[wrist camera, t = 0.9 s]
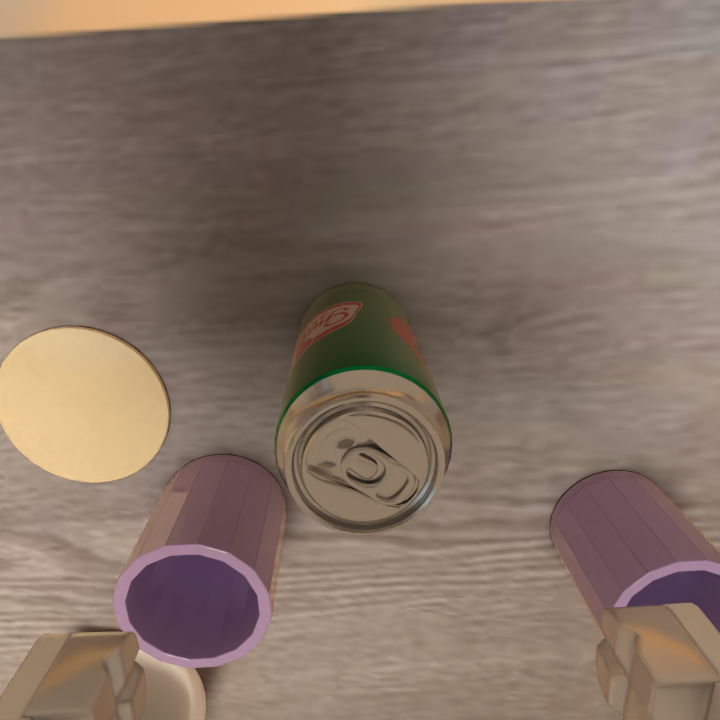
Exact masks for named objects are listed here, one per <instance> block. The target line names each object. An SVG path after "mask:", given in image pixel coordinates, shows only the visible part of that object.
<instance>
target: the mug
mask: <svg viewBox="0 0 720 720" xmlns="http://www.w3.org/2000/svg"><path fill="white" fill-rule="evenodd" d="M135 661H136V662H137V663H138V664H139V665H141V666H142V667H143V668H144V671H145V677H146V699H145V705H144V711H143V715H142V718H141V720H205V713H206V697H205V691H204V687H203V684H202V681H201V679H200V676H199V675H198V673H197V671H196V669H195V668H189V667H188V668H185V667H181V666H177V665H173V664H169V663H165V662H161V661H160V660H159V661H158V660H157V659H155V658H153V657H152V656H150V655H148V654H147V653H145V652H143V651H142V650H140V649H139V651H138V654H137V656H136V659H135Z"/></svg>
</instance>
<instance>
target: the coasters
mask: <svg viewBox="0 0 720 720" xmlns="http://www.w3.org/2000/svg"><path fill="white" fill-rule="evenodd" d="M0 422H1V424H2V426H3V428H4V430H5V432H6V434H7V435H8V437H9V438H10V440H11V441H12V443H13V444H14V445H15V446H16V447H17V448H18V450H19V451H20V452H21V453H23V454H24V455H25V456H26V457H27V458H28V459H29V460H31V461H32V462H33V463H35V464H36V465H38V466H39V467H41V468H43V469H44V470H46V471H48V472H51V473H53V474H55V475H57V476H60V477H63V478H66V479H71V480H75V481H81V482H107V481H113V480H117V479H121V478H123V477H126V476H129V475H131V474H133V473H135V472H137V471H138V470H140V469H141V468H143V467H144V466H145V465H146V464H147V463H149V462H150V461H151V460H152V459H153V457H154V456H155V455H156V454H157V452H158V451H159V449H160V448H161V446H162V444H163V442H164V440H165V438H166V435H167V432H168V427H169V422H170V407H169V401H168V396H167V392H166V390H165V387H164V385H163V382H162V380H161V379H160V377H159V375H158V373H157V372H156V370H155V369H154V368H153V366H152V365H151V364H150V362H149V361H148V360H147V359H146V358H145V357H144V356H143V355H142V354H141V353H140V352H138V351H137V350H136V349H135V348H134V347H132V346H131V345H129V344H128V343H126V342H125V341H123V340H121V339H119V338H117V337H115V336H113V335H111V334H108V333H106V332H103V331H100V330H96V329H92V328H86V327H78V326H65V327H56V328H52V329H48V330H44V331H41V332H39V333H36V334H34V335H32V336H31V337H29V338H27V339H25V340H24V341H22V342H21V343H20V344H18V345H17V346H16V347H15V348H14V349H13V350H12V351H11V352H10V353H9V354H8V355H7V357H6V358H5V360H4V362H3V363H2V365H1V367H0Z"/></svg>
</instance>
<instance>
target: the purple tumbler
mask: <svg viewBox="0 0 720 720" xmlns="http://www.w3.org/2000/svg"><path fill="white" fill-rule="evenodd" d="M285 525H286V501H285V497H284V494H283V491H282V489H281V487H280V485H279V484H278V482H277V481H276V479H275V478H274V477H273V476H272V475H271V474H270V473H269V472H268V471H267V470H266V469H264V468H263V467H261V466H260V465H258V464H256V463H254V462H253V461H250V460H248V459H245V458H242V457H238V456H232V455H211V456H207V457H202V458H200V459H197V460H194V461H192V462H191V463H189V464H187V465H186V466H184V467H183V468H181V469H180V470H179V471H178V472H177V473H176V474H175V476H174V477H173V478H172V480H171V481H170V483H169V485H168V486H167V487H166V488H165V490H164V492H163V494H162V496H161V498H160V500H159V502H158V504H157V506H156V507H155V509H154V511H153V513H152V515H151V517H150V519H149V521H148V523H147V525H146V527H145V528H144V530H143V532H142V534H141V536H140V538H139V540H138V542H137V544H136V546H135V547H134V549H133V551H132V553H131V555H130V557H129V559H128V561H127V563H126V565H125V567H124V568H123V570H122V572H121V574H120V576H119V579H118V582H117V586H116V589H115V593H114V596H113V606H114V610H115V614H116V619H117V623H118V625H119V627H120V628H121V630H122V631H131V632H134V633H136V636H137V639H138V643H139V647H140V650H142V651H143V652H145V653H147V654H148V655H150V656H152V657H153V658H155V659H157V660H158V661H159V660H160V661H161V662H165V663H169V664H173V665H177V666H181V667H185V668H188V667H189V668H202V667H217V666H221V665H223V664H226V663H228V662H231V661H234V660H236V659H239V658H241V657H243V656H245V655H246V654H247V653H248V652H249V651H250V650H251V649H253V648H254V647H255V646H256V645H257V644H258V643H259V642H260V641H261V640H262V639H263V638H264V635H265V633H266V630H267V628H268V625H269V623H270V620H271V618H272V611H273V605H274V598H275V592H276V585H277V578H278V572H279V565H280V558H281V552H282V545H283V539H284V532H285Z"/></svg>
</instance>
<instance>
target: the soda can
mask: <svg viewBox="0 0 720 720" xmlns="http://www.w3.org/2000/svg"><path fill="white" fill-rule="evenodd" d="M451 452H452V432H451V428H450V424H449V420H448V418H447V415H446V413H445V410H444V408H443V405H442V403H441V400H440V398H439V395H438V393H437V390H436V388H435V385H434V383H433V380H432V378H431V375H430V373H429V370H428V368H427V365H426V363H425V360H424V358H423V355H422V353H421V350H420V348H419V345H418V343H417V340H416V338H415V335H414V333H413V330H412V328H411V325H410V323H409V320H408V318H407V316H406V313H405V311H404V310H403V308H402V307H401V305H400V304H399V303H398V302H397V301H396V300H395V299H394V298H393V297H392V296H391V295H389V294H388V293H387V292H385V291H383V290H381V289H379V288H377V287H374V286H371V285H366V284H357V283H352V284H344V285H340V286H337V287H334V288H332V289H330V290H327V291H326V292H324V293H323V294H321V295H320V296H319V297H318V298H317V299H315V300H314V301H313V303H312V304H311V305H310V306H309V308H308V309H307V311H306V313H305V314H304V317H303V319H302V322H301V325H300V330H299V334H298V338H297V343H296V347H295V351H294V355H293V360H292V364H291V368H290V372H289V377H288V381H287V385H286V390H285V394H284V398H283V402H282V407H281V411H280V415H279V419H278V424H277V428H276V434H275V458H276V463H277V467H278V469H279V472H280V475H281V477H282V479H283V480H284V482H285V484H286V486H287V487H288V488H289V490H290V493H291V494H292V496H293V498H294V500H295V501H296V503H297V504H298V505H299V507H300V508H301V509H302V510H303V511H304V512H305V513H306V514H307V515H308V516H309V517H310V518H312V519H313V520H315V521H316V522H318V523H319V524H321V525H323V526H325V527H327V528H329V529H332V530H335V531H338V532H341V533H346V534H353V535H373V534H380V533H385V532H389V531H392V530H394V529H397V528H400V527H402V526H404V525H406V524H407V523H409V522H411V521H413V520H414V519H415V518H416V517H418V516H419V515H420V514H422V513H423V512H424V510H425V509H426V508H427V507H428V506H429V505H430V504H431V502H432V501H433V500H434V498H435V497H436V495H437V493H438V491H439V489H440V487H441V484H442V480H443V477H444V475H445V473H446V471H447V469H448V465H449V462H450V458H451Z"/></svg>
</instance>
